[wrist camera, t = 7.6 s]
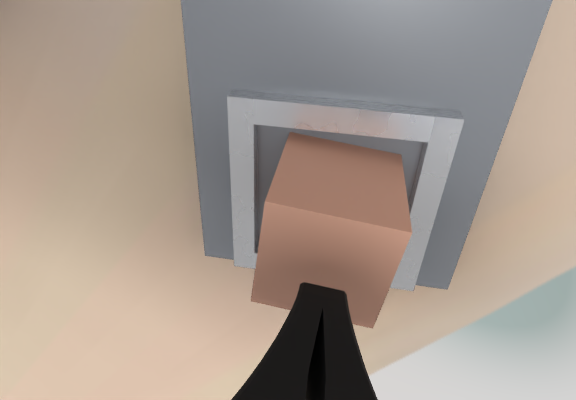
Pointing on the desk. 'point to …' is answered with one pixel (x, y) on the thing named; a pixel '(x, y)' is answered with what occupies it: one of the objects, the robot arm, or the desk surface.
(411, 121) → the locating frame
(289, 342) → the robot arm
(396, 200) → the block
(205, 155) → the board
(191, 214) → the desk surface
